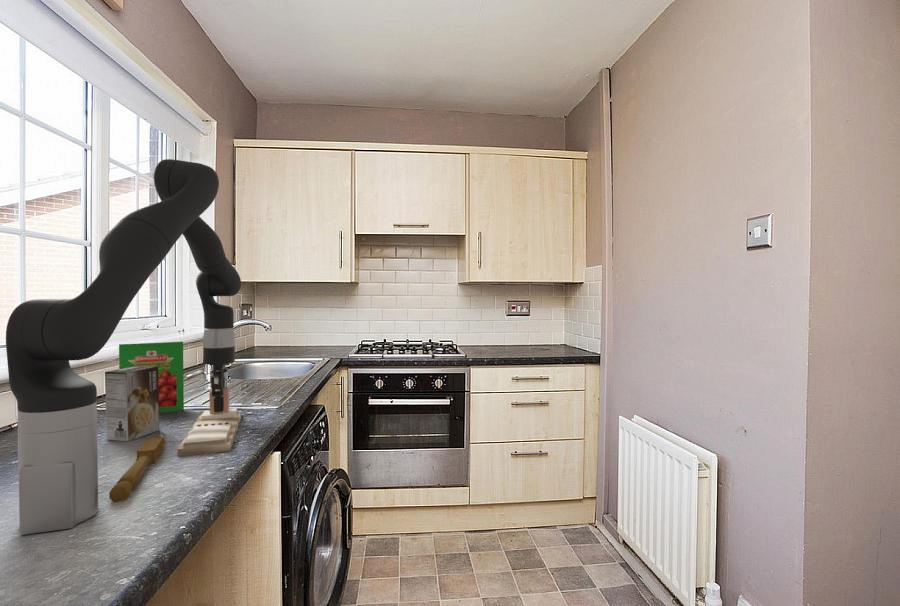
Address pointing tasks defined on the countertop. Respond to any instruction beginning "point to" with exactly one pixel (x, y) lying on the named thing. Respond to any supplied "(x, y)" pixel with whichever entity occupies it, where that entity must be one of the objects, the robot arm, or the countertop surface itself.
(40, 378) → the robot arm
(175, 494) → the countertop surface
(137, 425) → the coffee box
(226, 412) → the stub
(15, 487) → the countertop surface
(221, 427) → the board
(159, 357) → the tomato puree packet
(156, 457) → the tap handle
